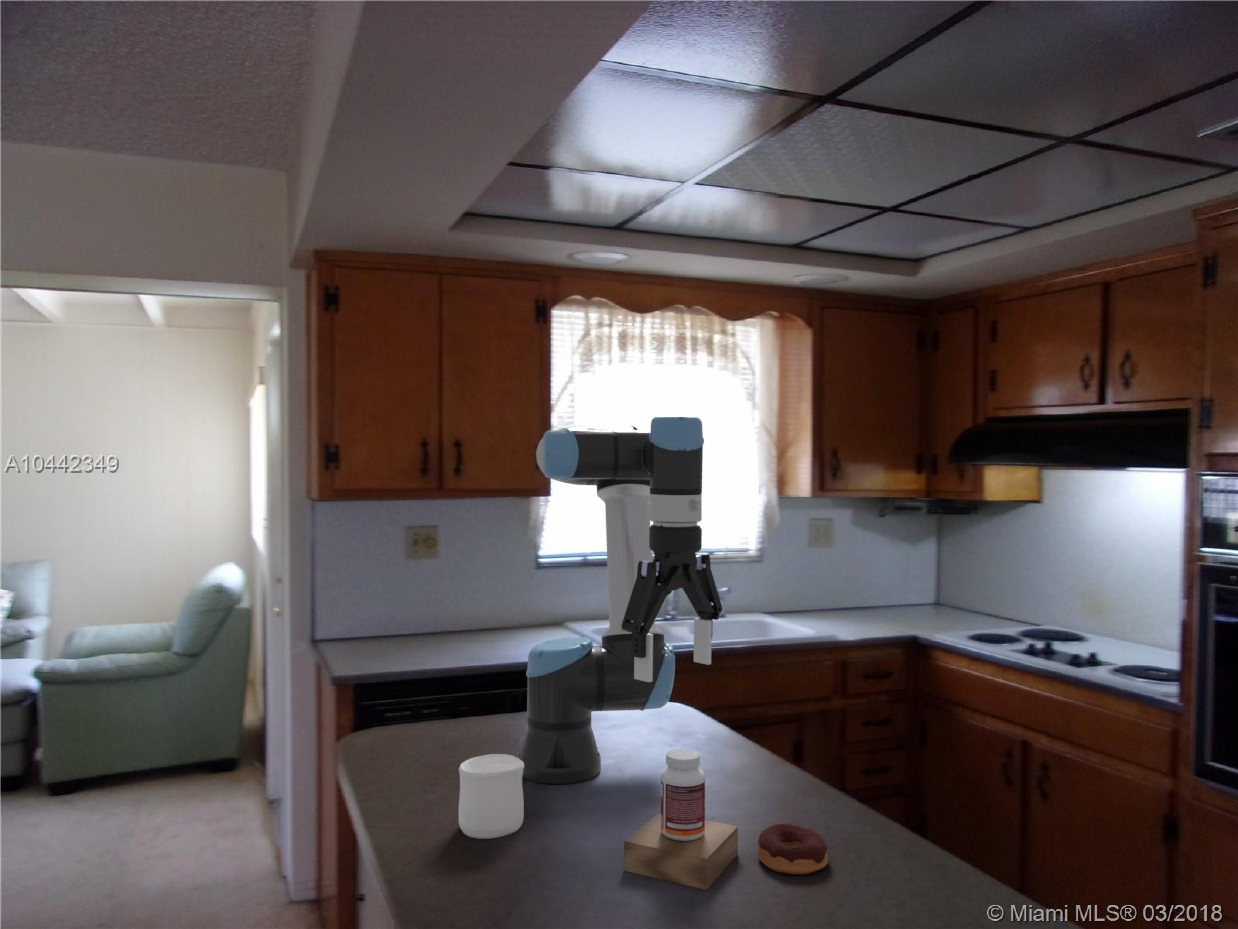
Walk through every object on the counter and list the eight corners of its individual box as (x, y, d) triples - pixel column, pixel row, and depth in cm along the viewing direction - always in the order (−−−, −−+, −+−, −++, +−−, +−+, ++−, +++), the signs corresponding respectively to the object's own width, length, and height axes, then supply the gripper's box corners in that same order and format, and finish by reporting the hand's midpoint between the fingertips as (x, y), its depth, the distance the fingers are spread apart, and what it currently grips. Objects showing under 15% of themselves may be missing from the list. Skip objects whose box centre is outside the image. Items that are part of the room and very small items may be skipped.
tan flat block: (624, 870, 123) (624, 841, 123) (660, 838, 134) (660, 811, 134) (706, 890, 117) (706, 859, 117) (737, 854, 128) (737, 826, 128)
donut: (813, 885, 119) (813, 855, 119) (744, 867, 125) (745, 838, 125) (838, 858, 128) (839, 830, 128) (774, 842, 133) (774, 815, 133)
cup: (533, 819, 141) (533, 757, 141) (504, 844, 131) (505, 777, 131) (479, 811, 144) (479, 750, 144) (447, 835, 134) (447, 770, 134)
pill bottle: (714, 836, 125) (714, 756, 125) (678, 846, 121) (679, 764, 121) (686, 821, 130) (687, 744, 130) (651, 830, 127) (652, 752, 127)
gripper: (638, 531, 117) (637, 693, 118) (746, 520, 136) (744, 660, 137) (596, 527, 122) (595, 683, 123) (706, 517, 141) (704, 652, 142)
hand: (673, 671), depth 130 cm, fingers open, 13 cm apart
